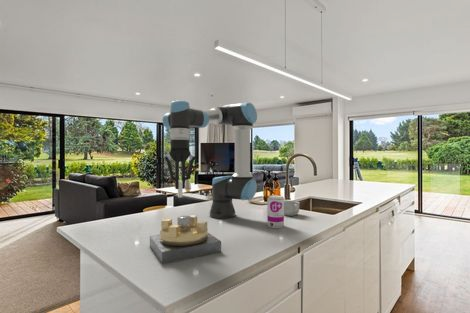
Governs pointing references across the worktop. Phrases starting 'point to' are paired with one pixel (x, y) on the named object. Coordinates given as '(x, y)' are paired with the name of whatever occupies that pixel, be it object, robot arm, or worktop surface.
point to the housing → (184, 249)
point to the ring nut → (183, 231)
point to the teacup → (291, 208)
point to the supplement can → (275, 211)
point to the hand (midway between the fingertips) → (180, 196)
